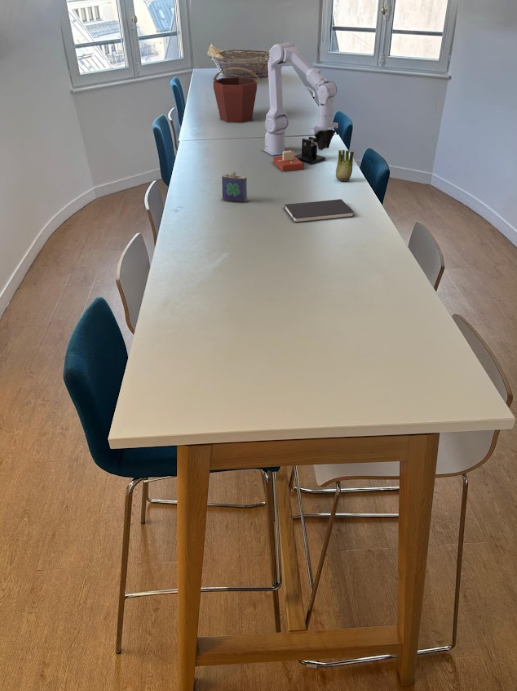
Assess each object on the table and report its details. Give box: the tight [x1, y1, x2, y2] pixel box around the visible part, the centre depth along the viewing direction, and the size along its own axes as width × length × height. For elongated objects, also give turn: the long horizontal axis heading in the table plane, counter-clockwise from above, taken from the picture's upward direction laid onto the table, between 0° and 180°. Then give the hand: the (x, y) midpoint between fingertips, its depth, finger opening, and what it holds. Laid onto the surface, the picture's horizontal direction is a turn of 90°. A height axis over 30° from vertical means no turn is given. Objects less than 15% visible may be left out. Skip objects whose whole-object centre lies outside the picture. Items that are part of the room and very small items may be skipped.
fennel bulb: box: [335, 149, 355, 182], centre depth 223 cm, size 6×5×12 cm
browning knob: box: [282, 149, 295, 161], centre depth 239 cm, size 5×2×4 cm, turn 107°
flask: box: [221, 170, 248, 203], centre depth 206 cm, size 9×3×11 cm, turn 74°
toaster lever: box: [307, 138, 328, 150], centre depth 242 cm, size 11×3×3 cm, turn 43°
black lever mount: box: [294, 136, 326, 165], centre depth 246 cm, size 11×9×9 cm
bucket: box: [212, 66, 261, 124], centre depth 298 cm, size 24×22×25 cm
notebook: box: [284, 198, 354, 223], centre depth 199 cm, size 13×2×21 cm
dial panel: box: [272, 155, 304, 172], centre depth 240 cm, size 12×9×3 cm
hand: (323, 148), depth 240 cm, fingers closed on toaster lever, 3 cm apart
